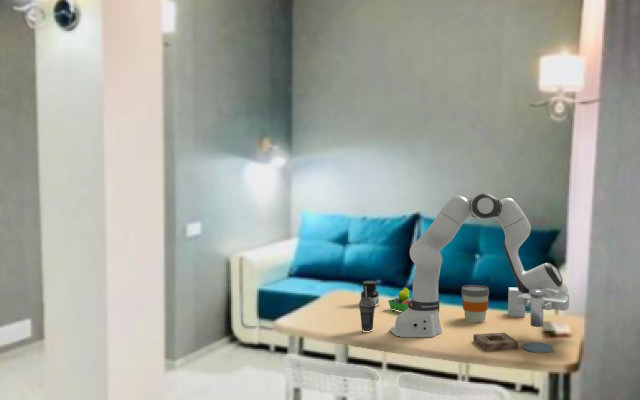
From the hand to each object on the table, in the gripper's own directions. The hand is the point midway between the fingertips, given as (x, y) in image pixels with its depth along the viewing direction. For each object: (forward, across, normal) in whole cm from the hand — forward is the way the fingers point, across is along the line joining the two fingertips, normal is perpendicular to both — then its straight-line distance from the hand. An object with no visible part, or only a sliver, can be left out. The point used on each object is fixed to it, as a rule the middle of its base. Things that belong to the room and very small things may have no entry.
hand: (536, 306), depth 282 cm
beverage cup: (+17, -70, +17) cm, 74 cm away
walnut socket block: (+5, -15, +17) cm, 23 cm away
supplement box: (-45, -26, +18) cm, 55 cm away
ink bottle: (-23, -94, +17) cm, 98 cm away
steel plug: (-1, 0, +8) cm, 8 cm away
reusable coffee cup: (-27, -38, +18) cm, 50 cm away
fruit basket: (-22, -74, +17) cm, 80 cm away
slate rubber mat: (-1, 0, +17) cm, 17 cm away
